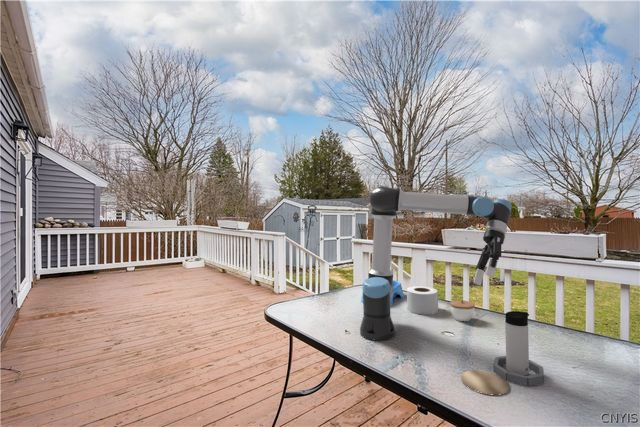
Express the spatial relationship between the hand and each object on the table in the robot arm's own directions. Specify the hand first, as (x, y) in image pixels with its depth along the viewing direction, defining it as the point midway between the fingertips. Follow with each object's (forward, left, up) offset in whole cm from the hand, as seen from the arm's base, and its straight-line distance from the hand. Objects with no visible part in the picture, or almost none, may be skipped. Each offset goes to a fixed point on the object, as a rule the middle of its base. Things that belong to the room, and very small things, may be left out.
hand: (483, 280), depth 122 cm
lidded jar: (+9, +26, -26) cm, 38 cm away
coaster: (-18, -23, -26) cm, 39 cm away
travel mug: (-4, -21, -26) cm, 33 cm away
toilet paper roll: (-2, +44, -26) cm, 51 cm away
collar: (-4, -21, -26) cm, 33 cm away
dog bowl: (-14, +69, -26) cm, 75 cm away
